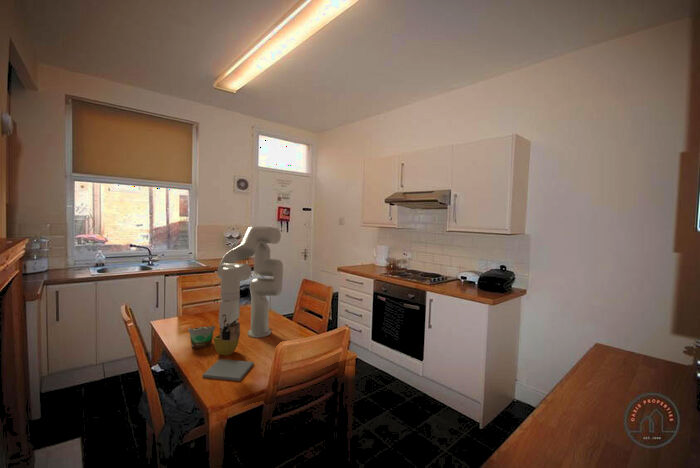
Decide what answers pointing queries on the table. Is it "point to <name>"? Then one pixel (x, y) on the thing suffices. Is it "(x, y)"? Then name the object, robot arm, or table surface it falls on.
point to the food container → (201, 337)
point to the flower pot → (225, 346)
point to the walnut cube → (232, 332)
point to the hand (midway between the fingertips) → (229, 336)
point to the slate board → (228, 369)
